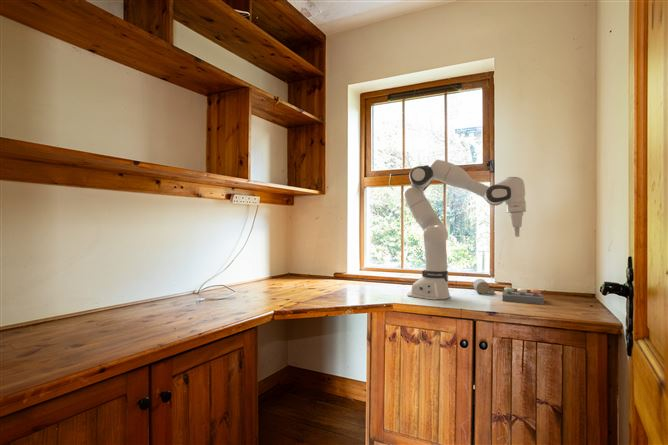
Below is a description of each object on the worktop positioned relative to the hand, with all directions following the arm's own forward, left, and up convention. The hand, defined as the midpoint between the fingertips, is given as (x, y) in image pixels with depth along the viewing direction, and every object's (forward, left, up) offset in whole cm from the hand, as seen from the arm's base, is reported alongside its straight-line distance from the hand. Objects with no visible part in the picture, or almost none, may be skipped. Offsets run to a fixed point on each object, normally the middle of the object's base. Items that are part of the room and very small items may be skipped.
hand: (517, 236), depth 171 cm
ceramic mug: (-17, +17, -33) cm, 41 cm away
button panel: (+2, +5, -33) cm, 33 cm away
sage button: (-4, +5, -31) cm, 32 cm away
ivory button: (+2, +5, -31) cm, 32 cm away
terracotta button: (+8, +5, -31) cm, 33 cm away
